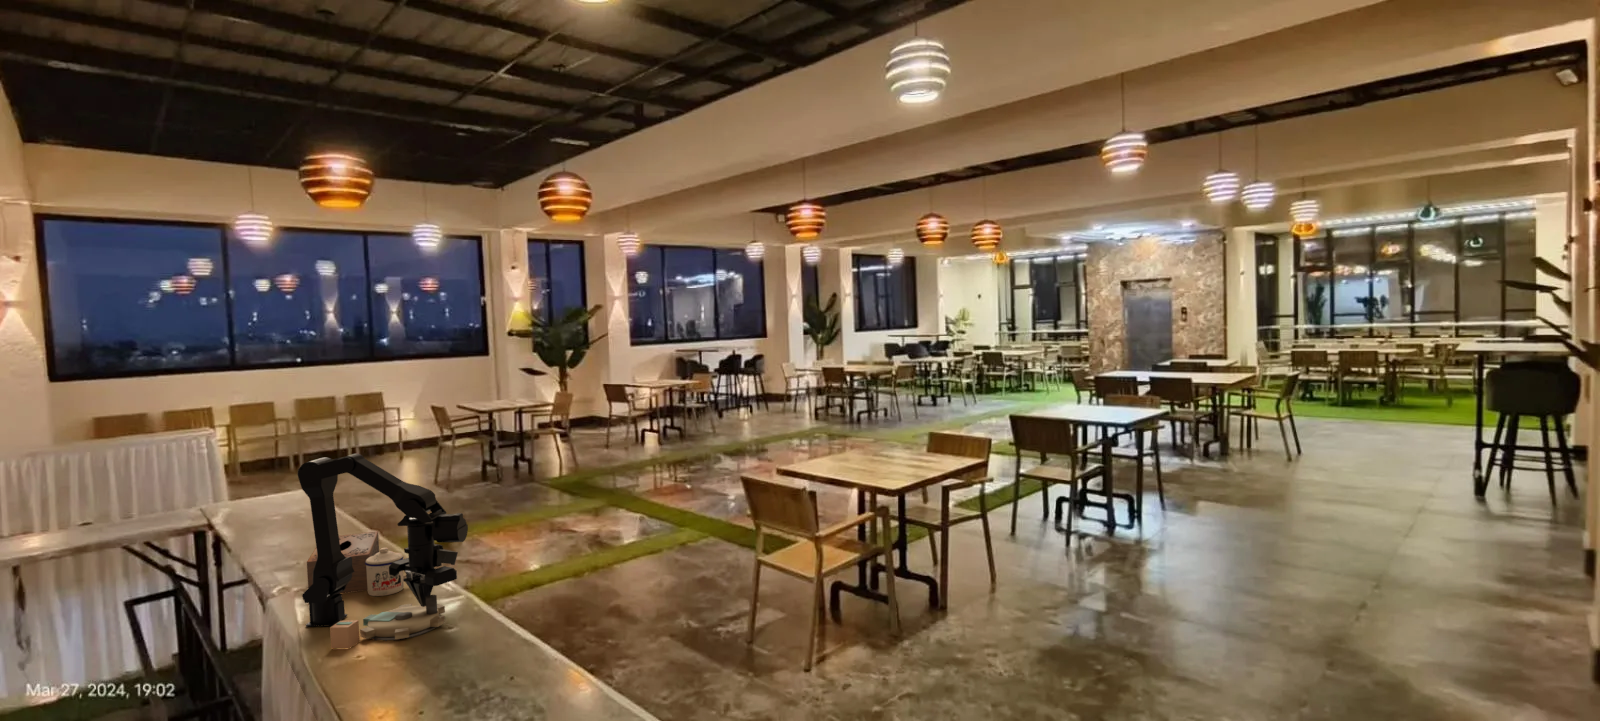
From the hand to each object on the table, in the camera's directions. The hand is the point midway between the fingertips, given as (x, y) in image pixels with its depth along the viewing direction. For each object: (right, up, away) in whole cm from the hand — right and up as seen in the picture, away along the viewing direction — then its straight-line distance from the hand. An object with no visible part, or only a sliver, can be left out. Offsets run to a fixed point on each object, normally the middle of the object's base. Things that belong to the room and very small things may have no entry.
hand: (424, 606), depth 187 cm
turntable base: (-3, -4, -4) cm, 6 cm away
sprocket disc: (-3, -4, -4) cm, 6 cm away
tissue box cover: (-37, -3, +31) cm, 49 cm away
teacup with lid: (-19, -3, +22) cm, 29 cm away
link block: (-11, -4, -14) cm, 18 cm away
